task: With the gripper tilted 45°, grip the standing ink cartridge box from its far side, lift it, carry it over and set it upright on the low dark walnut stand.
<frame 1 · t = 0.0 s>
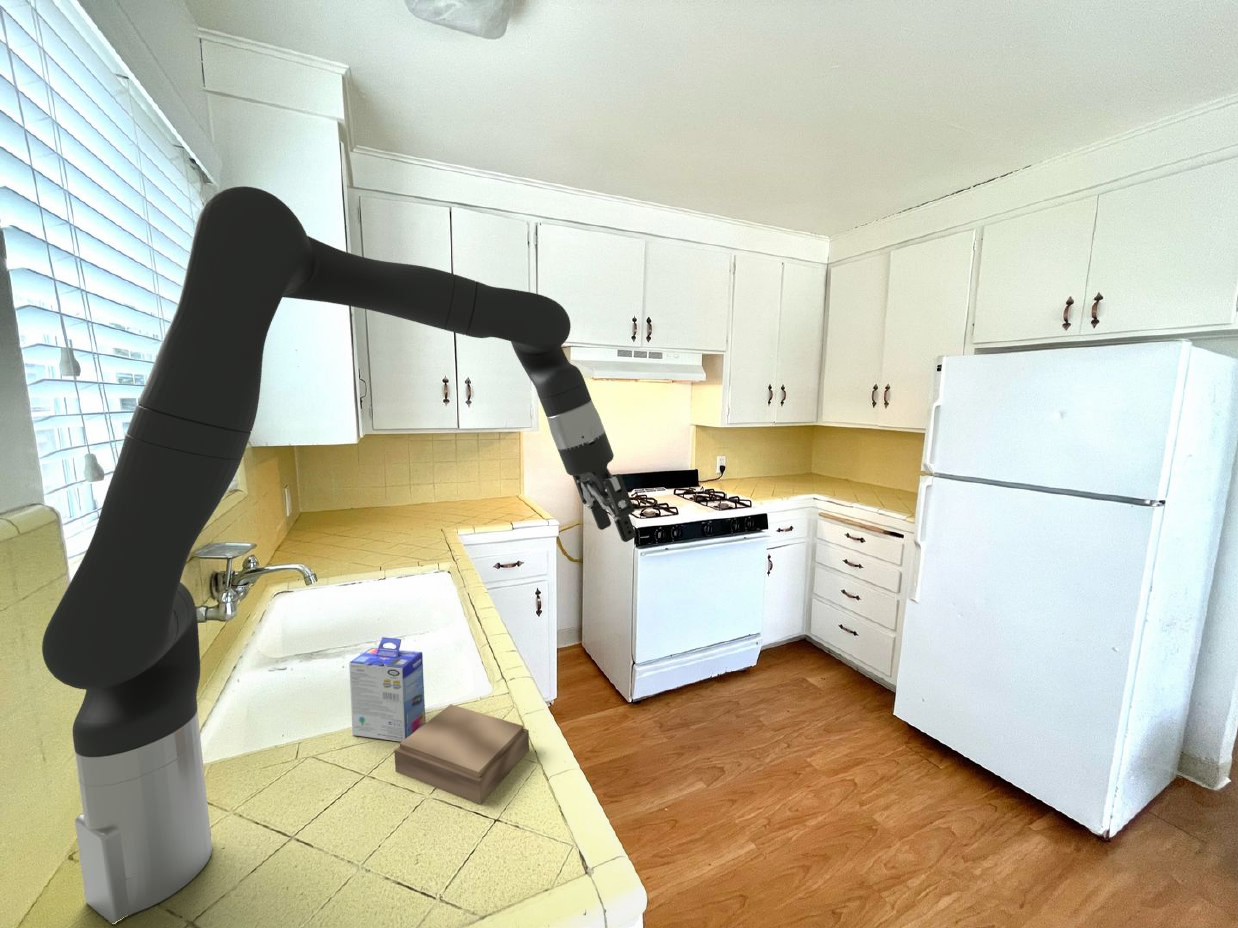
hand: (616, 533, 74), 31 cm above the counter, tool tilted 20°, fingers open, 8 cm apart
ink cartridge box: (390, 730, 77), on the counter
walnut stand: (464, 760, 69), on the counter
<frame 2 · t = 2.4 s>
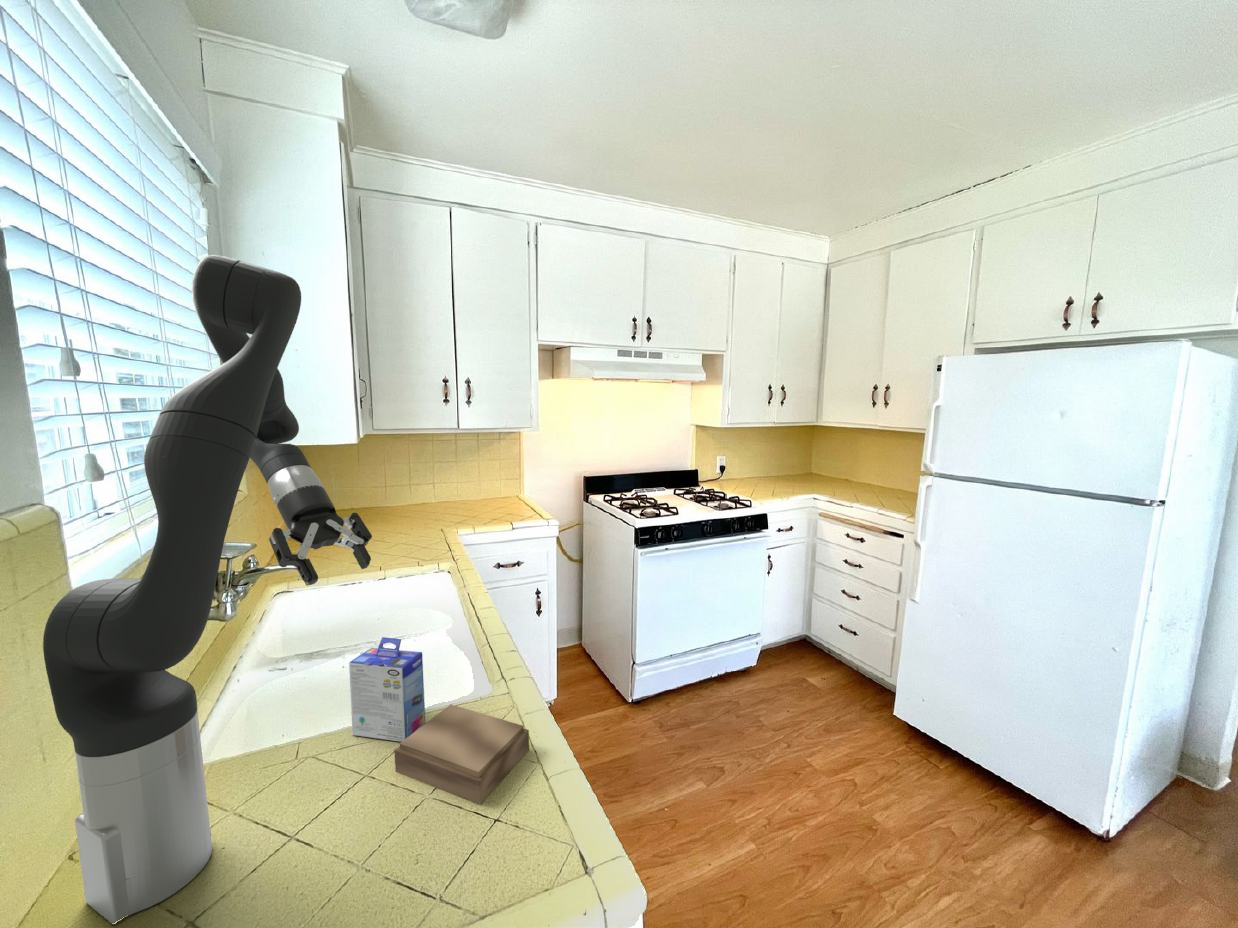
hand: (341, 573, 79), 24 cm above the counter, tool tilted 40°, fingers open, 8 cm apart
nothing on the counter moved.
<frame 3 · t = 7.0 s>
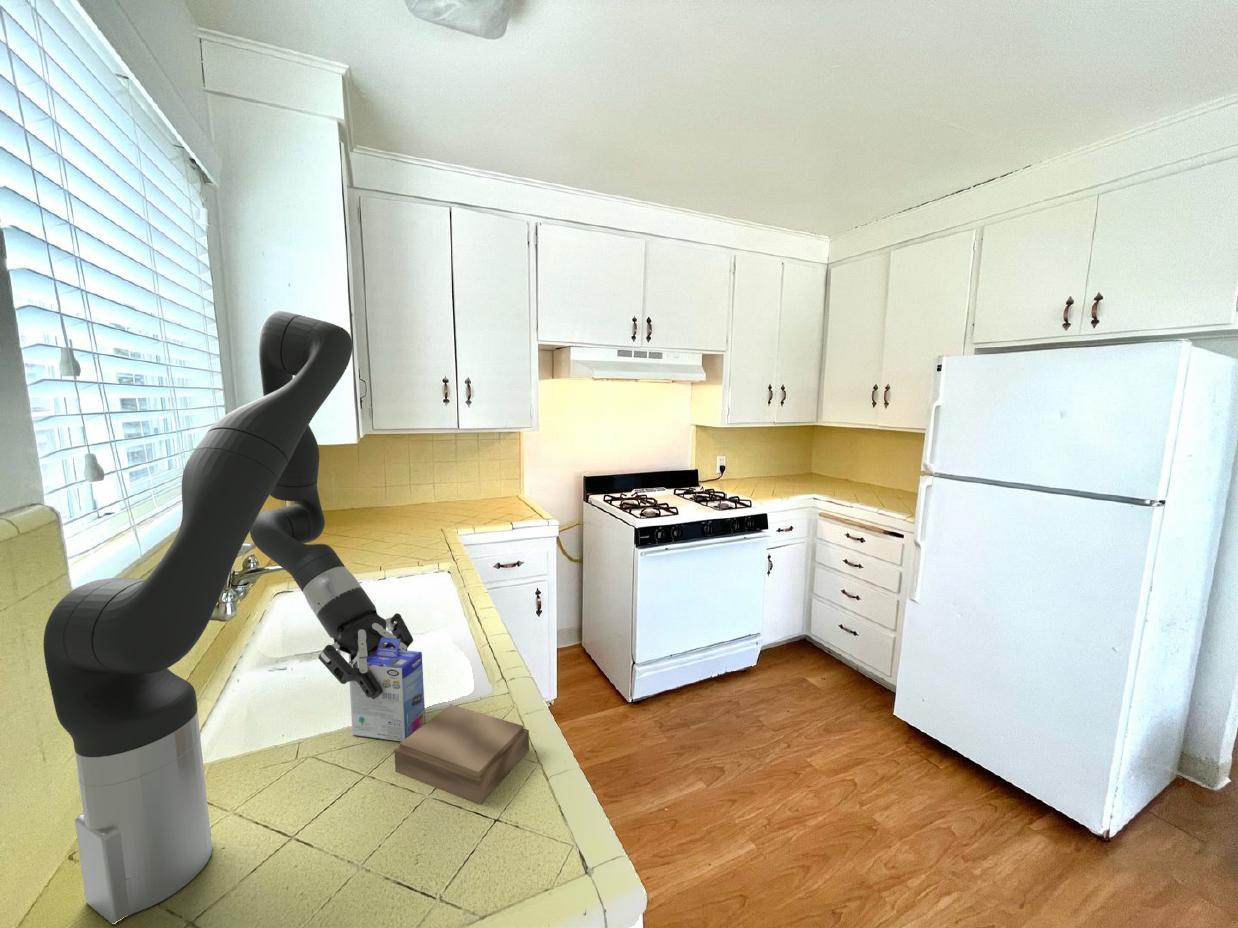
hand: (396, 684, 75), 8 cm above the counter, tool tilted 45°, fingers closed on ink cartridge box, 6 cm apart
ink cartridge box: (390, 729, 77), on the counter, touching gripper
when the fingers open (14 cm above the counter, at t = 12.8 s): ink cartridge box drops 2 cm, resting on walnut stand.
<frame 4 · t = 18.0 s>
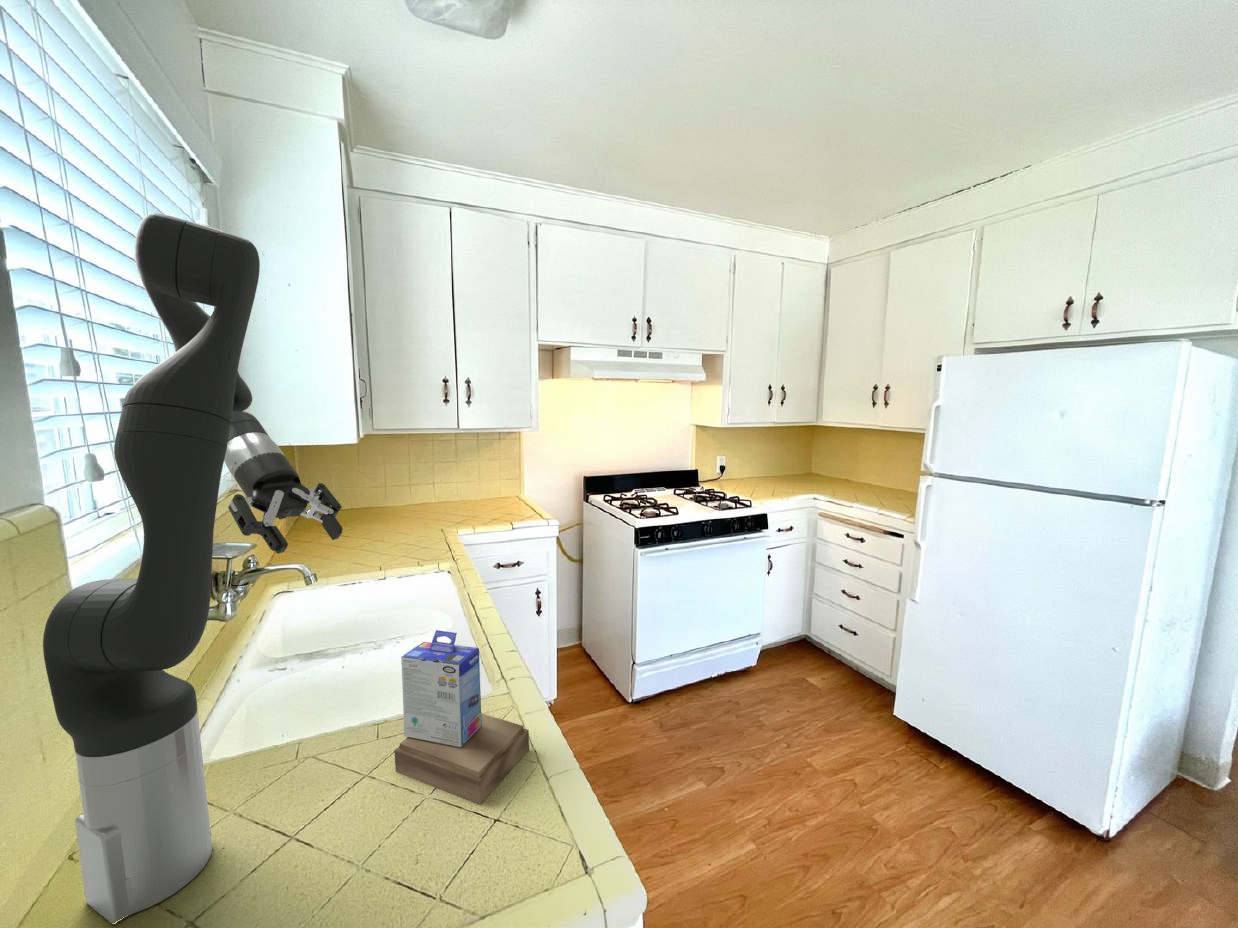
hand: (312, 542, 74), 31 cm above the counter, tool tilted 45°, fingers open, 8 cm apart
ink cartridge box: (444, 732, 70), point 4 cm above the counter, touching walnut stand
at the end: ink cartridge box inside the target area on the walnut stand (3.1 cm from its centre), point 3.8 cm above the walnut stand's base; ink cartridge box tilted 0°; the gripper is holding nothing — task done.
